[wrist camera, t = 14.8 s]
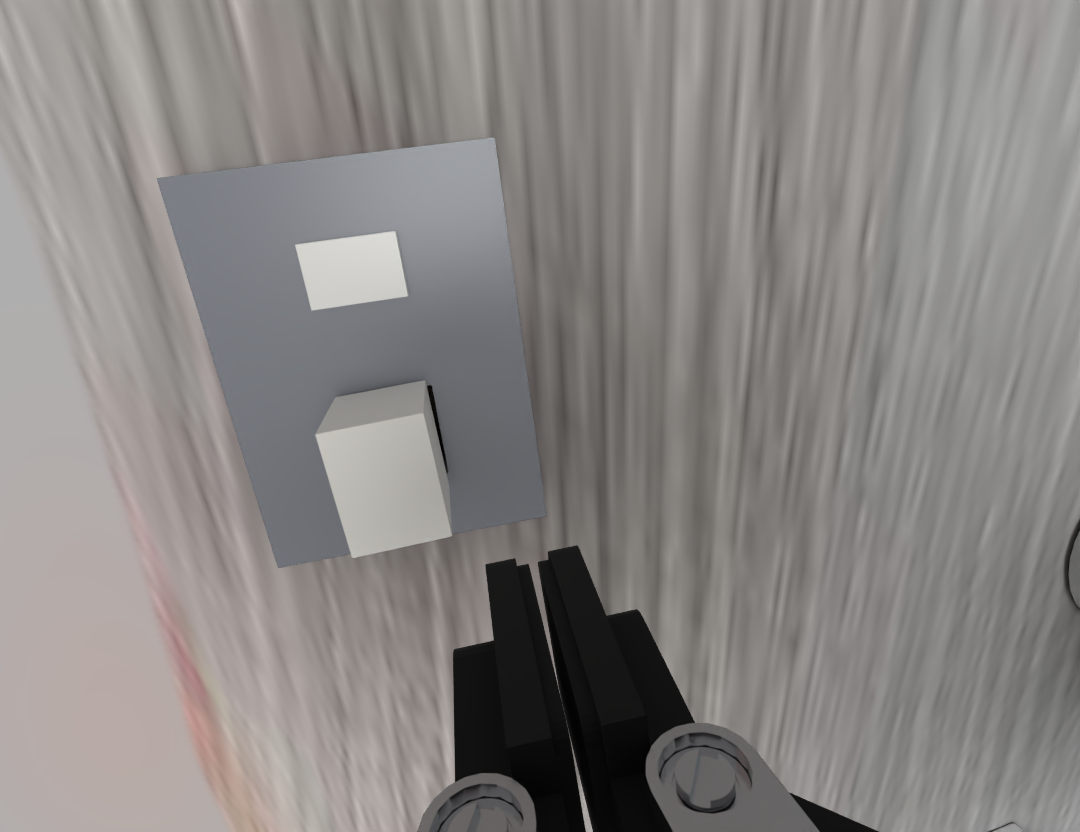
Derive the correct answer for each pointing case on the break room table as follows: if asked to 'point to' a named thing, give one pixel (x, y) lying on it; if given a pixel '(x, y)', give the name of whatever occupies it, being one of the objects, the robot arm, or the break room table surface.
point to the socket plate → (362, 321)
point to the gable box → (1009, 828)
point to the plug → (386, 468)
